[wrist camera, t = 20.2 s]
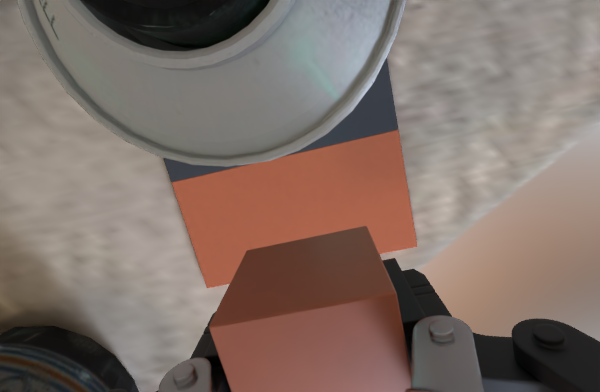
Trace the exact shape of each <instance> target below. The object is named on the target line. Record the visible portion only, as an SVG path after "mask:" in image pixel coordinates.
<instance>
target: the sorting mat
mask: <svg viewBox="0 0 600 392" xmlns="http://www.w3.org/2000/svg"><path fill="white" fill-rule="evenodd" d="M164 161H165V164H166V167H167V170H168V173H169V176H170V179H171V182H172V185H173V188H174V191H175V194H176V197H177V200H178V203H179V206H180V209H181V212H182V215H183V218H184V221H185V224H186V227H187V230H188V233H189V236H190V239H191V242H192V245H193V247H194V250H195V253H196V256H197V259H198V262H199V265H200V268H201V271H202V274H203V277H204V280H205V283H206V286H207V288H210V287H215V286H220V285H226V284H230V283H231V281H232V279H233V277H234V275H235V273H236V271H237V269H238V267H239V265H240V263H241V261H242V259H243V257H244V255H245V253H246V251H247V250H251V249H256V248H261V247H266V246H271V245H275V244H280V243H285V242H290V241H295V240H300V239H304V238H309V237H314V236H319V235H324V234H329V233H333V232H338V231H343V230H348V229H353V228H358V227H362V226H367V228H368V230H369V232H370V234H371V237H372V239H373V241H374V243H375V246H376V248H377V250H378V252H379V254H382V253H387V252H392V251H397V250H402V249H407V248H412V247H417V241H416V235H415V229H414V223H413V217H412V211H411V205H410V198H409V192H408V186H407V180H406V174H405V168H404V162H403V156H402V149H401V143H400V137H399V131H398V125H397V119H396V112H395V106H394V100H393V94H392V88H391V82H390V76H389V70H388V63H387V57H386V59H385V61H384V63H383V65H382V67H381V69H380V71H379V73H378V75H377V77H376V79H375V81H374V83H373V84H372V86H371V87H370V88H369V90H368V91H367V92H366V94H365V95H364V96H363V98H362V99H361V100H360V102H359V103H358V104H357V106H356V107H355V108H354V110H353V111H352V112H351V113H350V114H349V115H347V116H346V117H345V118H344V119H343V120H342V121H341V122H340V123H339V124H337V125H336V126H335V127H334V128H333V129H332V130H331V131H330V132H329V133H328V134H326V135H324V136H323V137H321V138H319V139H318V140H316V141H314V142H313V143H311V144H309V145H308V146H306V147H304V148H303V149H301V150H299V151H296V152H294V153H291V154H288V155H285V156H282V157H280V158H277V159H274V160H271V161H266V162H259V163H252V164H245V165H235V166H228V167H224V166H205V165H191V164H187V163H183V162H179V161H175V160H171V159H167V158H164Z"/></svg>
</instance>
